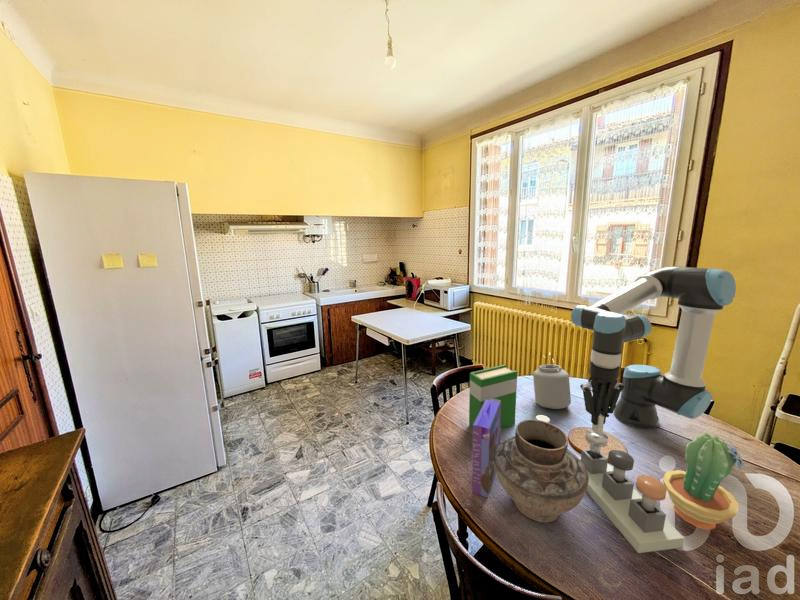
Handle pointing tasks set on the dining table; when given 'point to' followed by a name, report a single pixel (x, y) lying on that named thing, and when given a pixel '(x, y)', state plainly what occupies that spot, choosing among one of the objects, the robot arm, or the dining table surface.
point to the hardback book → (493, 392)
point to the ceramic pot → (540, 471)
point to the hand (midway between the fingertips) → (596, 432)
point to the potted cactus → (704, 483)
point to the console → (628, 508)
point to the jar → (552, 386)
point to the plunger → (596, 442)
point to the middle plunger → (620, 463)
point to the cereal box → (485, 446)
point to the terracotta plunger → (650, 491)
